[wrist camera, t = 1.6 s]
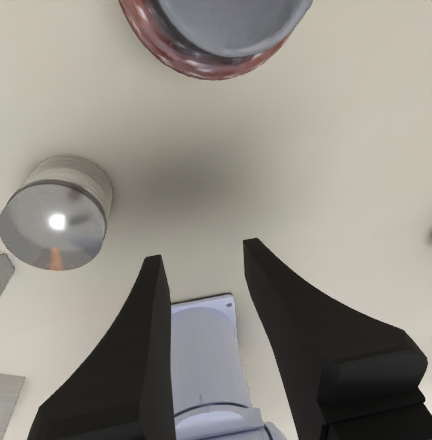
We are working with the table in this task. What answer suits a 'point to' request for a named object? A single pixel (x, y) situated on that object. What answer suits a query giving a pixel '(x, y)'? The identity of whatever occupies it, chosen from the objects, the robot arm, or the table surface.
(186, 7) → the supplement bottle
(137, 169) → the table surface
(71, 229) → the cylinder
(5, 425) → the white paper bag
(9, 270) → the split ring collar
